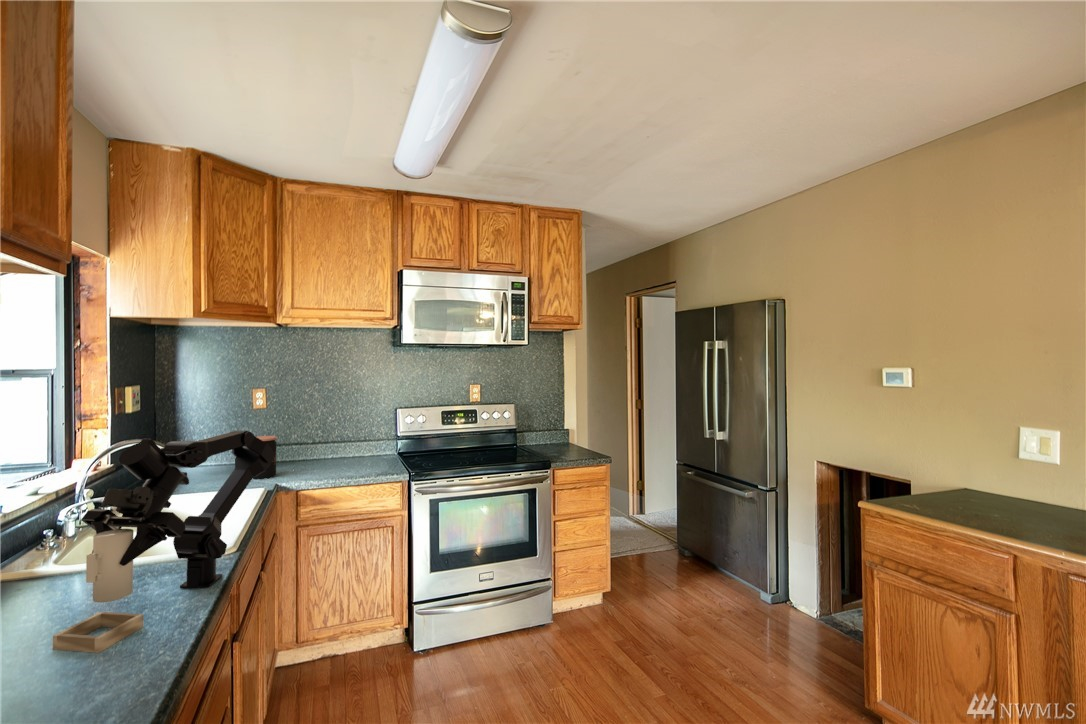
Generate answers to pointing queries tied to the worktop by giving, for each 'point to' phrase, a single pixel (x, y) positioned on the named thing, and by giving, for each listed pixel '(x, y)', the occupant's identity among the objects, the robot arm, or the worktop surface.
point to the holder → (76, 634)
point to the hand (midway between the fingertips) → (106, 564)
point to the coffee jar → (272, 467)
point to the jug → (110, 566)
